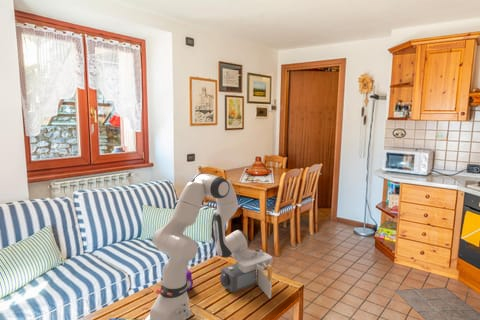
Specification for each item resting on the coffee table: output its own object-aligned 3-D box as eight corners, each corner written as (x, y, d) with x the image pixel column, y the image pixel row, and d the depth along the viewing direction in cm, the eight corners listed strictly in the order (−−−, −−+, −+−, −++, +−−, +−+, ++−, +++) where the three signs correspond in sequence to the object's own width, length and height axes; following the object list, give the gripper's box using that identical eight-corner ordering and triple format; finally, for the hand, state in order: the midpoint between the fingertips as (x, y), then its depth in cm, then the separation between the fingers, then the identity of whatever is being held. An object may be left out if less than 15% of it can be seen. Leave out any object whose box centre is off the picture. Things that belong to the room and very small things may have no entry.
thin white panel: (268, 298, 168) (269, 267, 165) (255, 283, 182) (256, 254, 180) (271, 298, 168) (272, 266, 166) (258, 283, 183) (259, 254, 180)
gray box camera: (217, 284, 180) (218, 268, 179) (244, 275, 191) (244, 260, 189) (228, 294, 171) (229, 276, 170) (255, 284, 182) (256, 267, 180)
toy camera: (183, 297, 167) (183, 279, 166) (165, 288, 175) (165, 270, 174) (198, 288, 176) (198, 271, 174) (180, 280, 184) (181, 263, 182)
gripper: (233, 257, 172) (249, 268, 161) (263, 248, 184) (280, 258, 173) (233, 268, 173) (249, 280, 162) (262, 259, 185) (279, 269, 174)
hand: (265, 268), depth 168 cm, fingers closed
